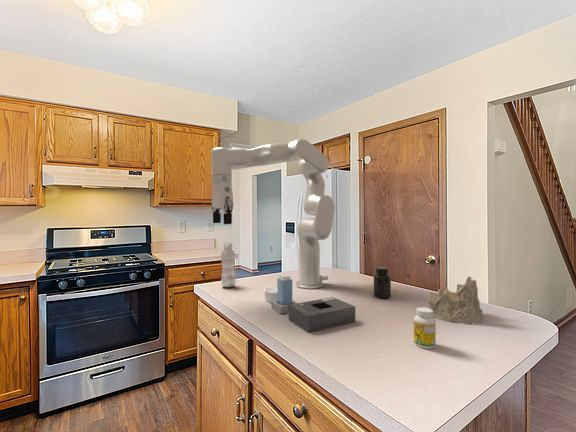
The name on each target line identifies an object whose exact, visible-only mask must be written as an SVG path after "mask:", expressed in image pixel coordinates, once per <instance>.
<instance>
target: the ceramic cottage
mask: <svg viewBox="0 0 576 432" xmlns="http://www.w3.org/2000/svg"><path fill="white" fill-rule="evenodd" d="M478 289H479V288H478V285H477V280H476V279H472V276H467V277H466V280H465V283H464V284H459V283H457V284H456V292H454V291H450V290H449V289H448V288H446V289H445V290H444V291H443V288H438V290H437V293H436V292H431V291H430V293H429V295H428V296H429V297H428V302H427V303H428V305H429V309H432V310H433V316H432V317H433V318H434V319H439V320H441V321H445V322H449V323H450V322H451V323H456V324H461V323H464V324H465V325H473V324H472V323H477V324H479V323H478V322H480V323H482V319H483V318H482V317H484V314H483V309H481V305H480V304H481V303H480V299H479V295H478V294H479V293H478V291H479V290H478ZM464 324H463V325H464Z"/></svg>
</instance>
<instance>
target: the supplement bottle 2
mask: <svg viewBox="0 0 576 432" xmlns="http://www.w3.org/2000/svg"><path fill="white" fill-rule="evenodd" d="M416 314H417V315H415V316H414V318H413V344H414V345H415V346H416V347H418V348H420V349H425V350H432V349H434V348H435V347H436V343H437V342H436V341H437V340H436V338H437V337H436V335H437V334H436V333H437V331H436V330H437V328H436V327H437V326H436V325H437V323H436V318H435V317H432V316H433V310H432V309H430V307H429V308H428V307H417V308H416Z"/></svg>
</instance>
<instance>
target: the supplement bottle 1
mask: <svg viewBox="0 0 576 432" xmlns="http://www.w3.org/2000/svg"><path fill="white" fill-rule="evenodd" d="M391 279H392V277H391V275H390V274H389V268H388V267H385V266H378V267H375V274H374V275H373V297H374V298H376V299H379V300H380V299H381V300H387V299H388V300H389V299H391V297H392V280H391Z"/></svg>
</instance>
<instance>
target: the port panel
mask: <svg viewBox="0 0 576 432" xmlns="http://www.w3.org/2000/svg"><path fill="white" fill-rule="evenodd" d="M288 321H289V322H291V323H293V324H294V325H295V326H297V327H298V328H300V329H302V330H303V331H304V332H306V333H313V332H317V331H323V330H326V329H331V328H335V327H339V326H343V325H347V324H353V323H355V322H356V306H355V305H352V304H350V303H348V302H346V301H344V300H340V299H338V298H337V297H333V296H331V297H326V298H321V299H320V298H319V299H314V300H308V301H303V302H296V304H291V305H289V312H288Z"/></svg>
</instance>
